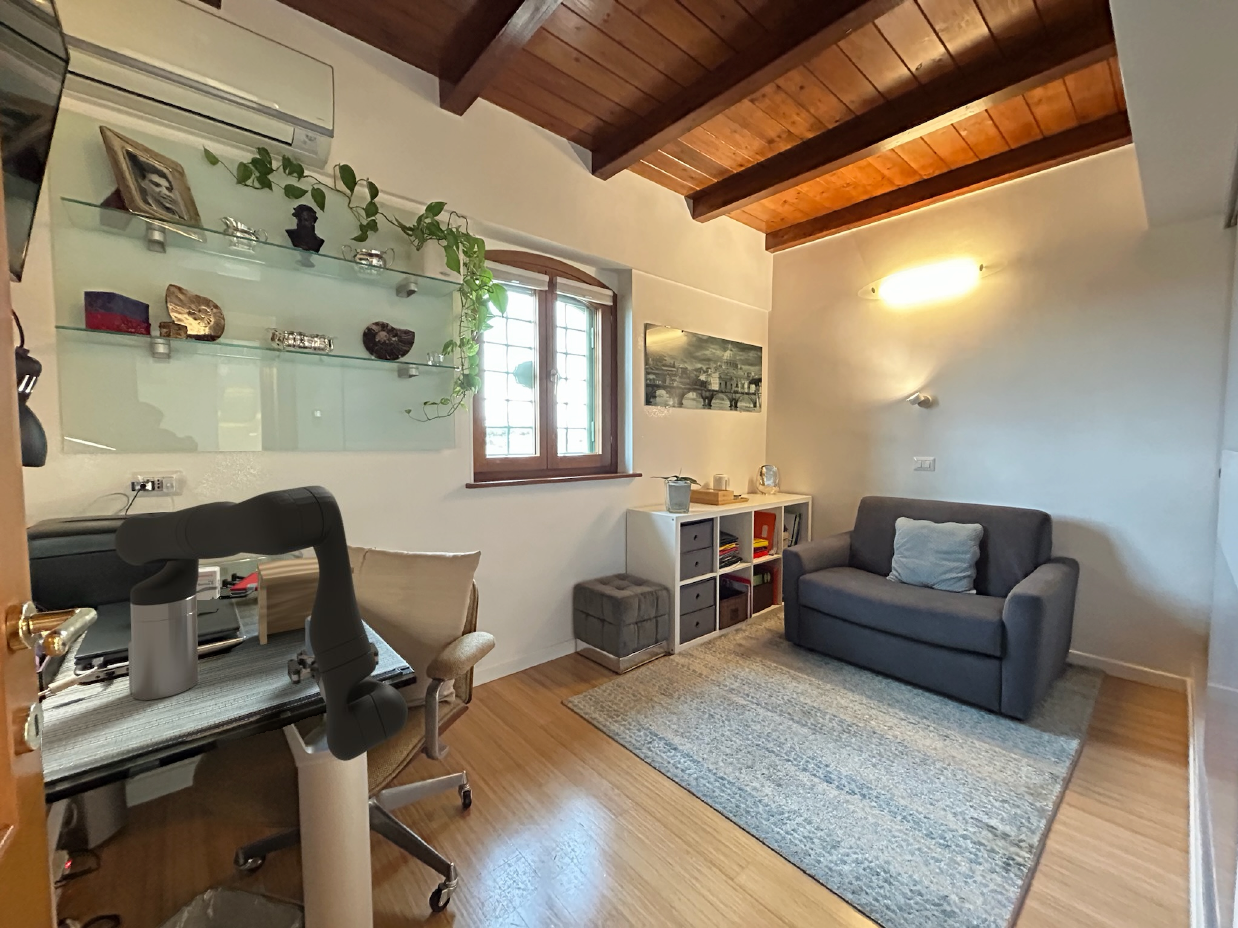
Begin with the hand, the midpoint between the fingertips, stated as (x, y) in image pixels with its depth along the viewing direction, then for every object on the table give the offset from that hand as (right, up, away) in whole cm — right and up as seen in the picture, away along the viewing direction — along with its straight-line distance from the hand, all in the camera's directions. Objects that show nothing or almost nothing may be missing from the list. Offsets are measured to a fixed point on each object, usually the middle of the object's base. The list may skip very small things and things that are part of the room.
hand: (327, 649), depth 99 cm
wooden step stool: (-18, -5, +23) cm, 30 cm away
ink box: (-58, -5, +40) cm, 71 cm away
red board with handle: (-63, -4, +67) cm, 92 cm away
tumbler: (-4, -6, +6) cm, 9 cm away
